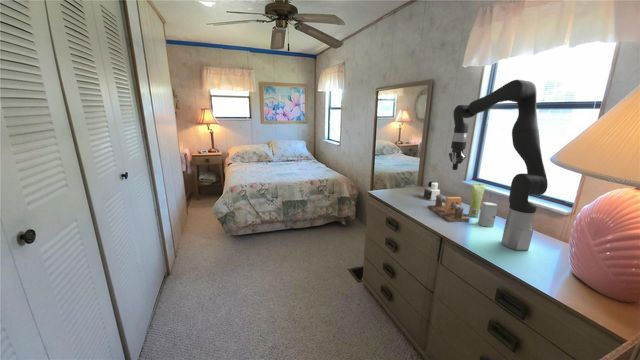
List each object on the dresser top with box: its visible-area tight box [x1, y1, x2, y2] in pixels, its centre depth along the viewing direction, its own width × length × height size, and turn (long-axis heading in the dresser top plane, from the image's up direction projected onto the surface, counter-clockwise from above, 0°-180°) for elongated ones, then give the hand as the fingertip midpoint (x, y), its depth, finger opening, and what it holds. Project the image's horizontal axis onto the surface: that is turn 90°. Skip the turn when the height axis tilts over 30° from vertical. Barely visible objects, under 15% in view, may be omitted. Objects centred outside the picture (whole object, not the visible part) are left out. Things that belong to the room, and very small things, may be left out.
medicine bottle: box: [423, 181, 441, 201], centre depth 178 cm, size 7×7×12 cm
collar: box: [444, 196, 463, 213], centre depth 146 cm, size 2×8×8 cm, turn 97°
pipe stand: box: [427, 194, 470, 223], centre depth 151 cm, size 22×12×9 cm, turn 7°
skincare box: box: [477, 201, 498, 228], centre depth 137 cm, size 6×4×12 cm
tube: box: [467, 183, 487, 218], centre depth 148 cm, size 6×5×20 cm
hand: (454, 169), depth 154 cm, fingers closed
